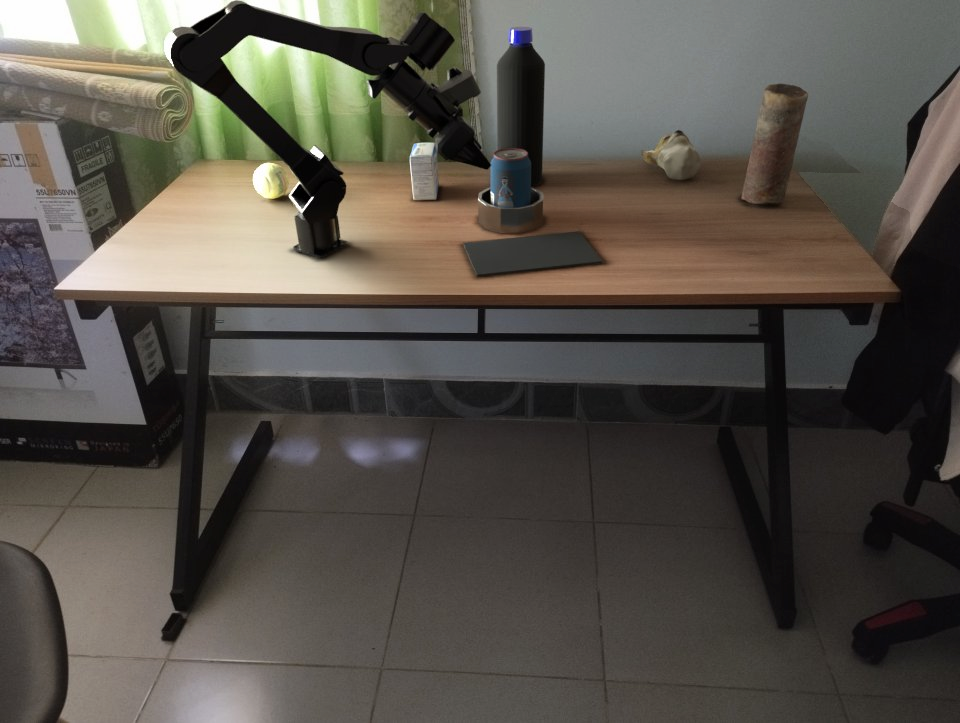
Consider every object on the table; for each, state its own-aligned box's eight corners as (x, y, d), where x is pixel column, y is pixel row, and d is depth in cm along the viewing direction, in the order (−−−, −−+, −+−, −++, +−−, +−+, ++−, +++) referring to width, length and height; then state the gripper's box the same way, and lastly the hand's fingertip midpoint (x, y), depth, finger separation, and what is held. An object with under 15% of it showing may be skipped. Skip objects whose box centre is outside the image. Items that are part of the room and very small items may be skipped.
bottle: (538, 189, 143) (542, 33, 128) (494, 187, 145) (492, 32, 129) (544, 174, 150) (548, 24, 135) (501, 172, 152) (501, 24, 136)
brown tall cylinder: (779, 194, 138) (803, 83, 127) (789, 209, 132) (815, 93, 121) (737, 194, 139) (757, 83, 128) (745, 209, 133) (766, 93, 122)
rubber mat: (476, 277, 113) (476, 274, 112) (463, 245, 123) (462, 242, 122) (602, 263, 116) (602, 261, 116) (579, 233, 126) (579, 230, 125)
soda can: (523, 210, 134) (524, 145, 128) (535, 225, 129) (537, 157, 122) (486, 215, 133) (485, 149, 126) (497, 230, 127) (496, 161, 121)
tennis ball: (271, 206, 139) (265, 171, 135) (248, 199, 142) (241, 165, 138) (297, 196, 143) (292, 162, 139) (274, 189, 146) (268, 156, 143)
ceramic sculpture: (663, 139, 138) (640, 122, 151) (658, 185, 143) (636, 164, 156) (718, 137, 139) (691, 120, 152) (712, 183, 144) (686, 162, 157)
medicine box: (436, 200, 139) (433, 155, 135) (412, 201, 140) (409, 155, 135) (439, 185, 146) (436, 142, 141) (416, 186, 146) (413, 142, 141)
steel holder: (521, 238, 124) (521, 213, 122) (466, 224, 130) (465, 200, 127) (553, 216, 132) (554, 191, 129) (500, 204, 137) (500, 180, 135)
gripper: (456, 67, 106) (530, 138, 114) (440, 42, 122) (507, 106, 129) (405, 126, 110) (481, 191, 117) (397, 95, 125) (464, 154, 133)
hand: (484, 158), depth 124 cm, fingers open, 9 cm apart
